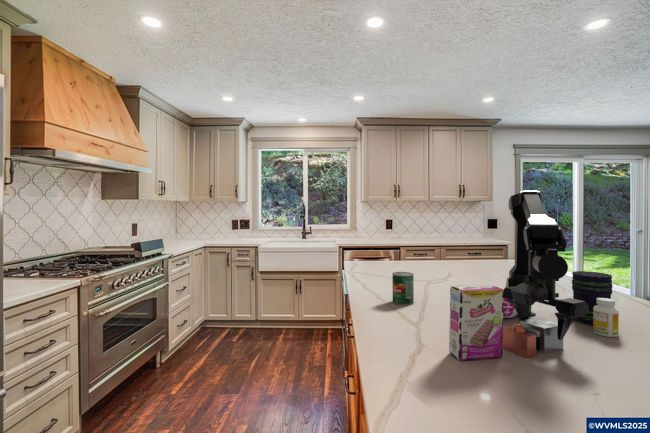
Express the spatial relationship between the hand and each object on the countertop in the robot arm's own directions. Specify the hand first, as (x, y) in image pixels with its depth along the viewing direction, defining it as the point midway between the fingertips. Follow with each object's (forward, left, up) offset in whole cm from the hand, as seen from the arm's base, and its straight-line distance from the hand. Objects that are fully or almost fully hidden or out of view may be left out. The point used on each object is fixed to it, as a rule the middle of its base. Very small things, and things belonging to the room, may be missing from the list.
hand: (541, 333), depth 84 cm
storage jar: (-33, -7, -4) cm, 34 cm away
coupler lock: (0, 0, -3) cm, 3 cm away
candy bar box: (+20, -2, -4) cm, 20 cm away
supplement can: (-1, -25, +1) cm, 26 cm away
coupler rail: (+4, 0, -3) cm, 5 cm away
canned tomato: (+8, -48, -4) cm, 49 cm away
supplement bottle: (-25, +1, -4) cm, 25 cm away
